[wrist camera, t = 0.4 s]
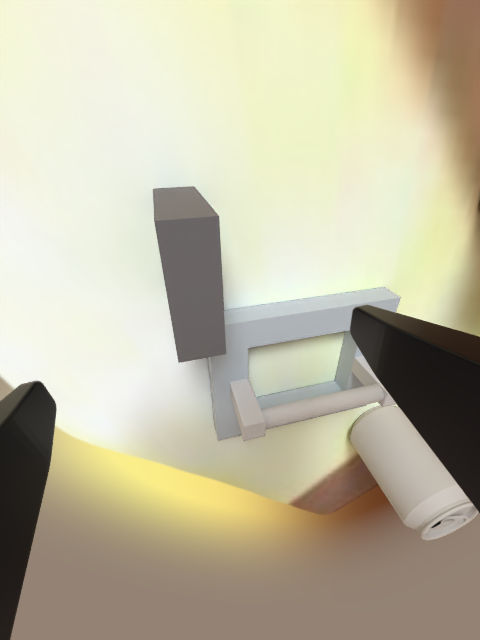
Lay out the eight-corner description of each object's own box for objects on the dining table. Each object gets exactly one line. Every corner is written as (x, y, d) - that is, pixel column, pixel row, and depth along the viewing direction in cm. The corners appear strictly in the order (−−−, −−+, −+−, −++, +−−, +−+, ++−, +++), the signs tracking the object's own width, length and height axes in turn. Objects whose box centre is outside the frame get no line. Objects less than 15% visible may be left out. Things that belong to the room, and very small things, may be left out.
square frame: (384, 286, 26) (446, 326, 20) (355, 391, 33) (395, 442, 27) (203, 313, 22) (219, 369, 17) (214, 423, 29) (228, 487, 24)
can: (354, 406, 34) (436, 516, 24) (407, 395, 36) (504, 494, 26) (340, 446, 38) (406, 554, 28) (388, 434, 40) (466, 533, 30)
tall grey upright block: (193, 186, 18) (219, 215, 11) (203, 288, 21) (226, 354, 15) (153, 188, 17) (154, 221, 11) (170, 292, 21) (178, 362, 14)
